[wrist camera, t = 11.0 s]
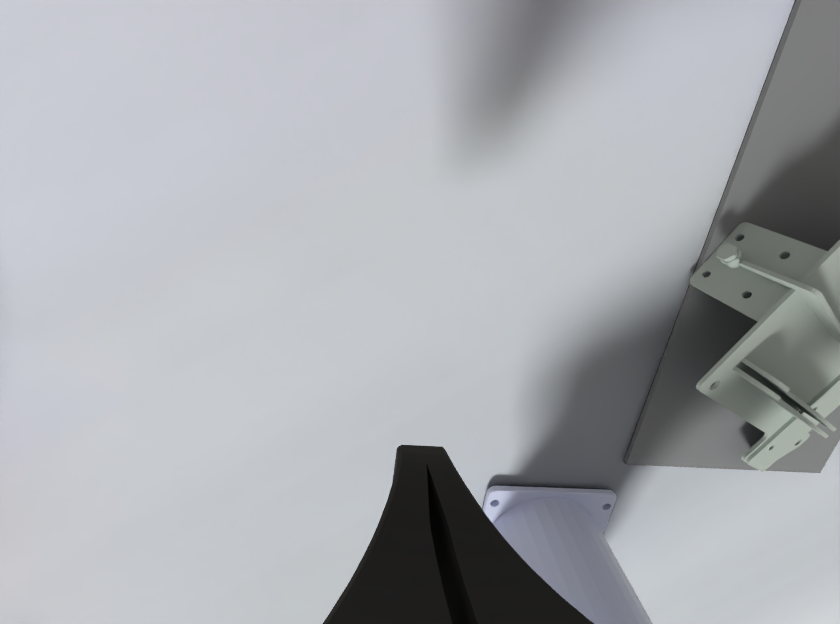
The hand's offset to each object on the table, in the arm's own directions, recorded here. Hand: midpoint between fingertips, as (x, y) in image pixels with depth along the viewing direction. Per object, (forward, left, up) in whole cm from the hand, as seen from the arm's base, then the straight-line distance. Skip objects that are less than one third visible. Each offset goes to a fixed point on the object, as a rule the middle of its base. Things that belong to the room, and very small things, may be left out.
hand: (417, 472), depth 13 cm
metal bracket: (+3, -20, -9) cm, 22 cm away
